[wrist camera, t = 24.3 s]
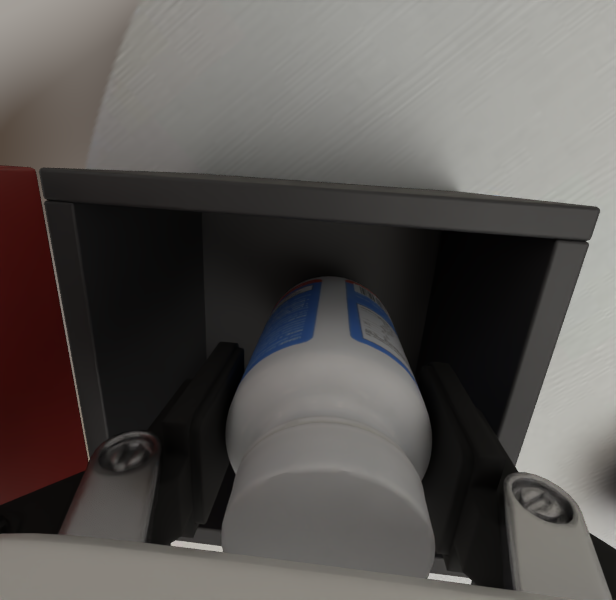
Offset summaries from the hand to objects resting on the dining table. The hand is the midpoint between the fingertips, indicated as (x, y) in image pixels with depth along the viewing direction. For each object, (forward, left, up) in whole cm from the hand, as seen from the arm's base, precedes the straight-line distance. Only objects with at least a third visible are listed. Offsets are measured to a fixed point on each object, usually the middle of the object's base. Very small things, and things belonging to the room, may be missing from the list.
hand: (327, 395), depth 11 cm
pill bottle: (0, 0, -5) cm, 5 cm away
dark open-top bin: (-1, -1, -9) cm, 9 cm away
